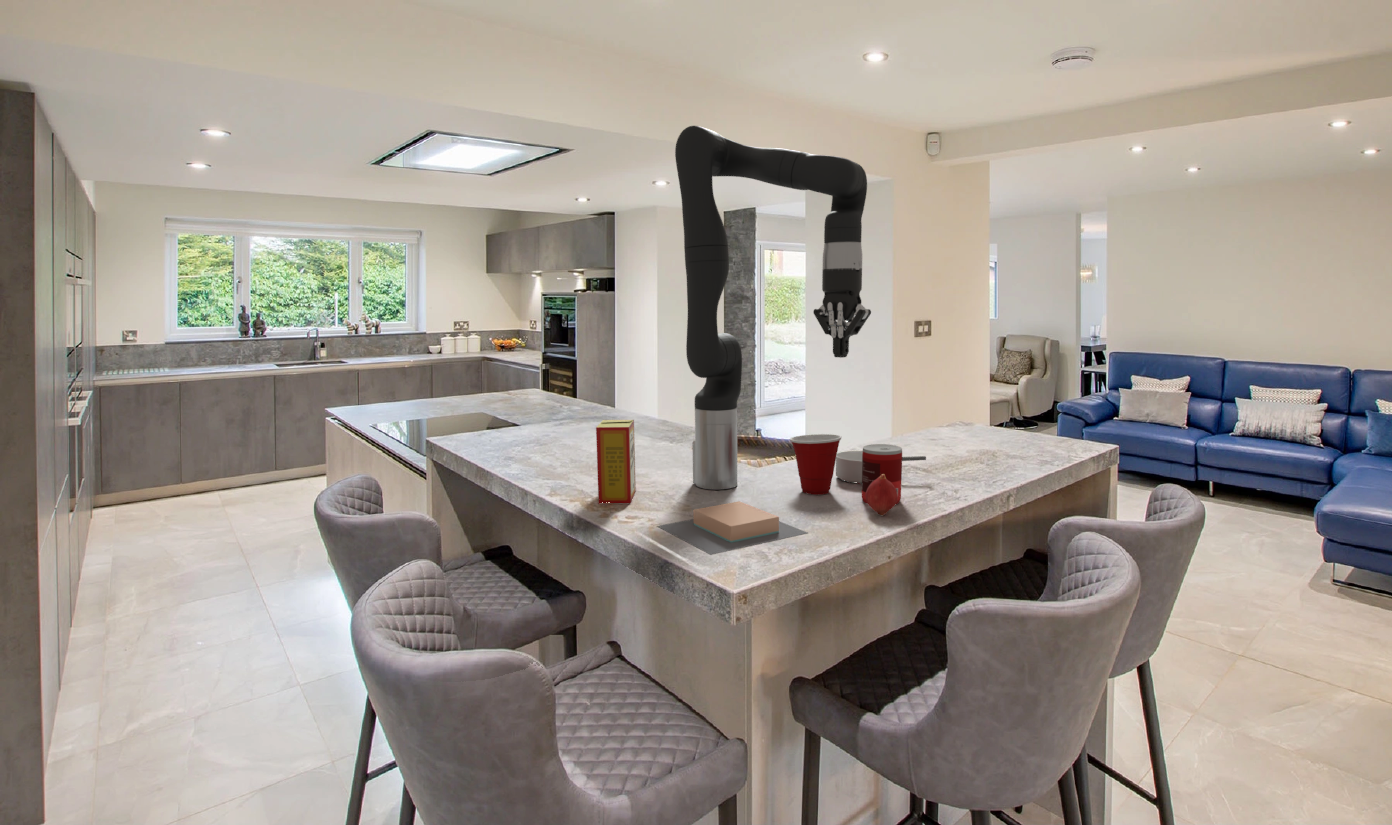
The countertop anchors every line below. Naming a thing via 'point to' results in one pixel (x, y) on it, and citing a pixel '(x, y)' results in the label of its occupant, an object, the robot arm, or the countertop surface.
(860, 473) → the saucepan
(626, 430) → the baking soda box
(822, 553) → the countertop surface
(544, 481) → the countertop surface
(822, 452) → the plastic cup
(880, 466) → the canned food
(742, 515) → the tile
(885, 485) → the onion
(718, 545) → the mat
